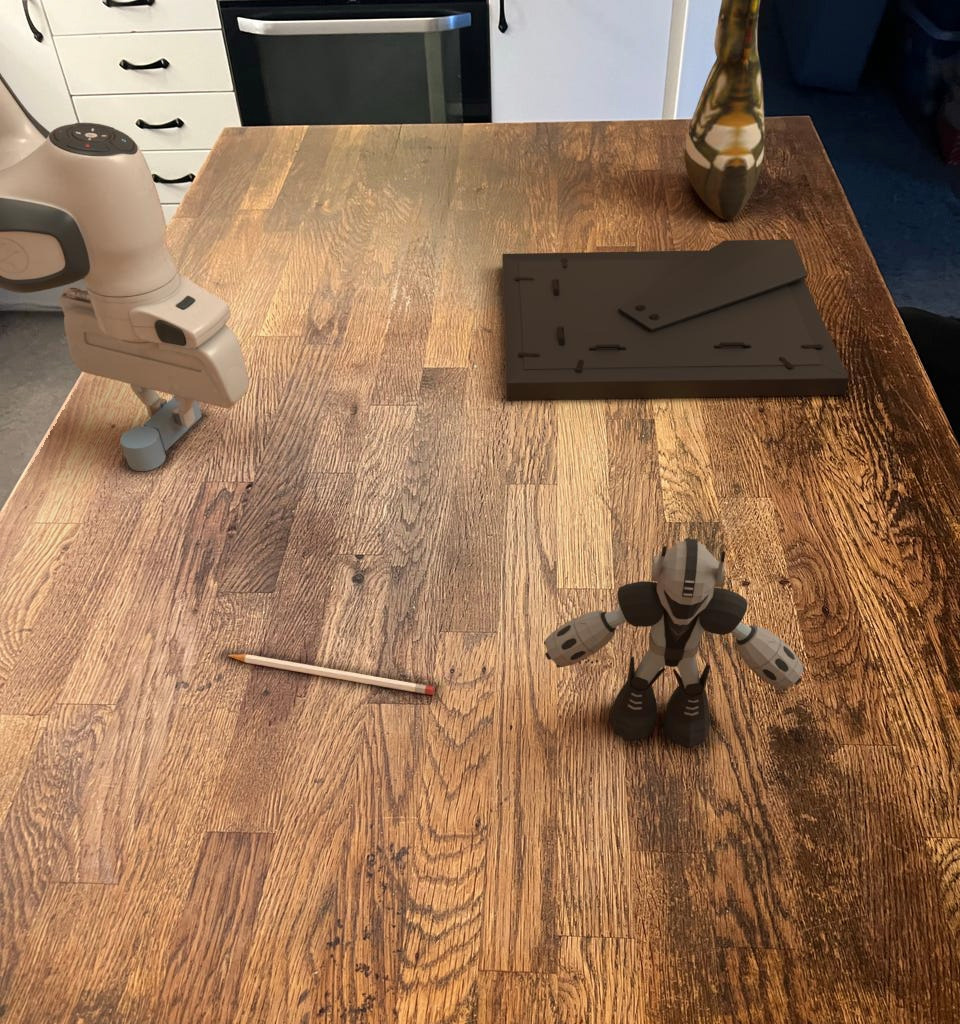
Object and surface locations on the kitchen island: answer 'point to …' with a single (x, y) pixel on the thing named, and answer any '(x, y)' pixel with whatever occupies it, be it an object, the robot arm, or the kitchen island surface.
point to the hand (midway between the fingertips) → (173, 419)
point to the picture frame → (666, 325)
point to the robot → (675, 642)
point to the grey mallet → (154, 437)
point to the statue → (729, 116)
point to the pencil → (335, 673)
